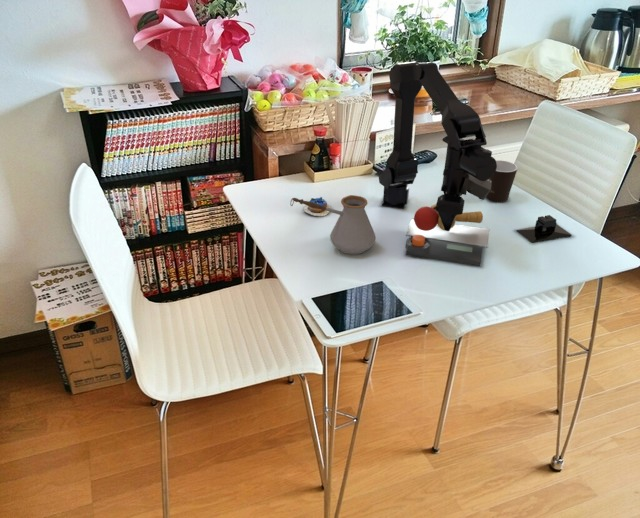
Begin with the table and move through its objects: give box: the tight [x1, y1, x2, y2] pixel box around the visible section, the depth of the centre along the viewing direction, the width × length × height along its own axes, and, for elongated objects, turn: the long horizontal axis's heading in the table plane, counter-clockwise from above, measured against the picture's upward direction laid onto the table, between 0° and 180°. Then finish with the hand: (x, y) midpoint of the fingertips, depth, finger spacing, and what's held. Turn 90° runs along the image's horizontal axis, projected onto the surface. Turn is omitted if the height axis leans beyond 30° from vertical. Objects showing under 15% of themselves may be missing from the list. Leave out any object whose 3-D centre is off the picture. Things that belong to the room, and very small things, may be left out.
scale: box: [404, 237, 484, 267], centre depth 149 cm, size 18×15×3 cm
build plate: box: [516, 214, 573, 244], centre depth 155 cm, size 12×7×5 cm, turn 109°
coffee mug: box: [485, 159, 519, 203], centre depth 173 cm, size 12×9×10 cm
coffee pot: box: [289, 194, 377, 255], centre depth 145 cm, size 21×12×15 cm, turn 101°
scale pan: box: [405, 218, 490, 248], centre depth 150 cm, size 20×9×1 cm, turn 73°
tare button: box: [412, 235, 425, 246], centre depth 146 cm, size 3×3×2 cm
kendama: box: [413, 204, 484, 231], centre depth 149 cm, size 8×6×18 cm
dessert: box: [303, 196, 331, 217], centre depth 167 cm, size 8×7×6 cm
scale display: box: [446, 244, 472, 253], centre depth 144 cm, size 6×2×1 cm, turn 73°
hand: (449, 222), depth 149 cm, fingers closed on kendama, 8 cm apart
